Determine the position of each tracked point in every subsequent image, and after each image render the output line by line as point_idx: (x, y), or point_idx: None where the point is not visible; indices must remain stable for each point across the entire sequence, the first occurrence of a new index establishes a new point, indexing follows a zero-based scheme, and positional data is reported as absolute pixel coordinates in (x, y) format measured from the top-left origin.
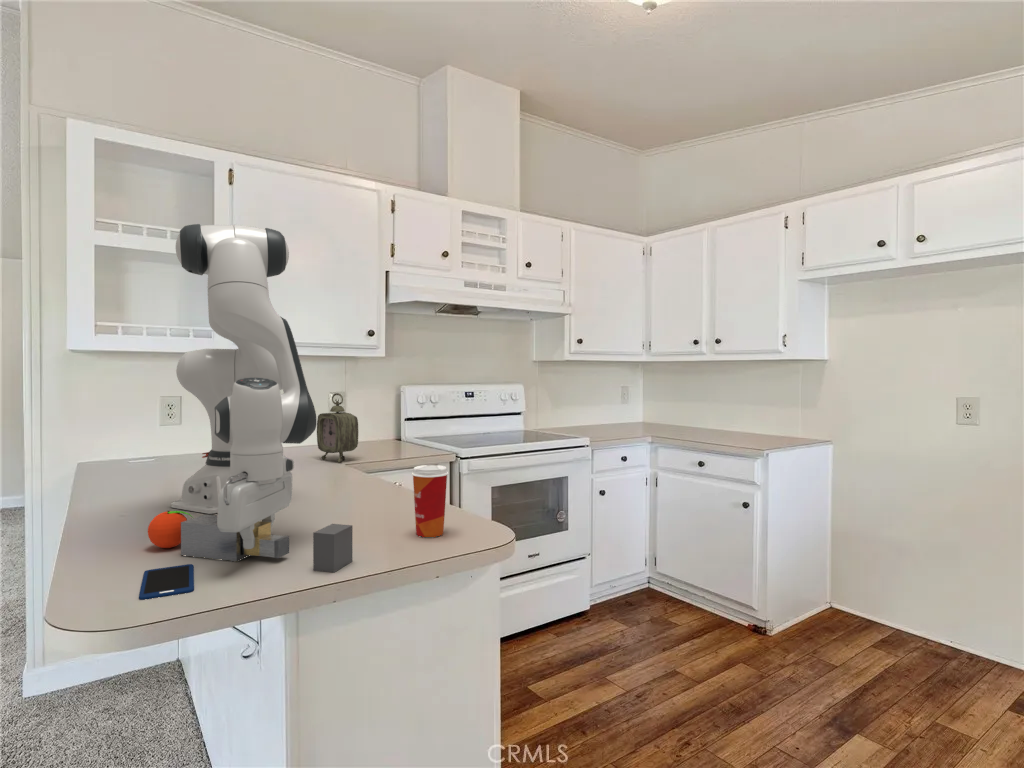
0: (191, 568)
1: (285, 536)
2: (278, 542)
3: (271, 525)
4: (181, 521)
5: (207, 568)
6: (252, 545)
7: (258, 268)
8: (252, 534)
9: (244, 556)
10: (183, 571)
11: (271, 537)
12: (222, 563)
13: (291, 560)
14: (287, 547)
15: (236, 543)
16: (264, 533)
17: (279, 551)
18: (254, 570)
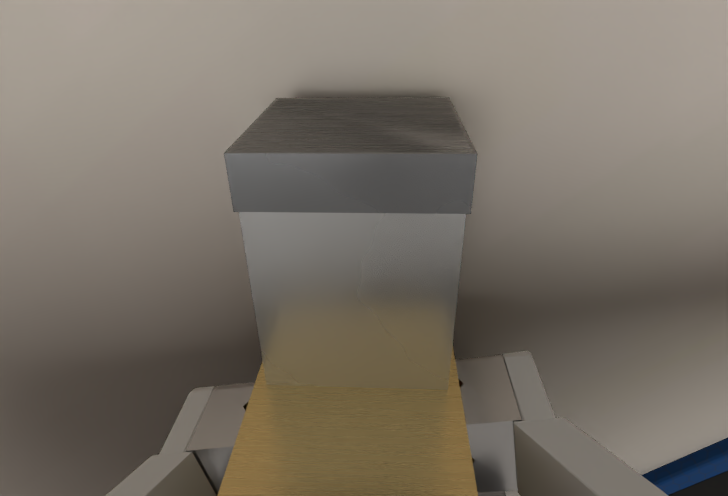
0: (662, 489)
1: (262, 187)
2: (466, 147)
3: (136, 485)
4: None
5: (610, 438)
6: (534, 367)
7: None
8: (590, 464)
9: None
10: (715, 494)
11: (351, 318)
12: None
13: (335, 19)
14: (291, 114)
15: None
16: (354, 418)
17: (434, 113)
18: (642, 166)
